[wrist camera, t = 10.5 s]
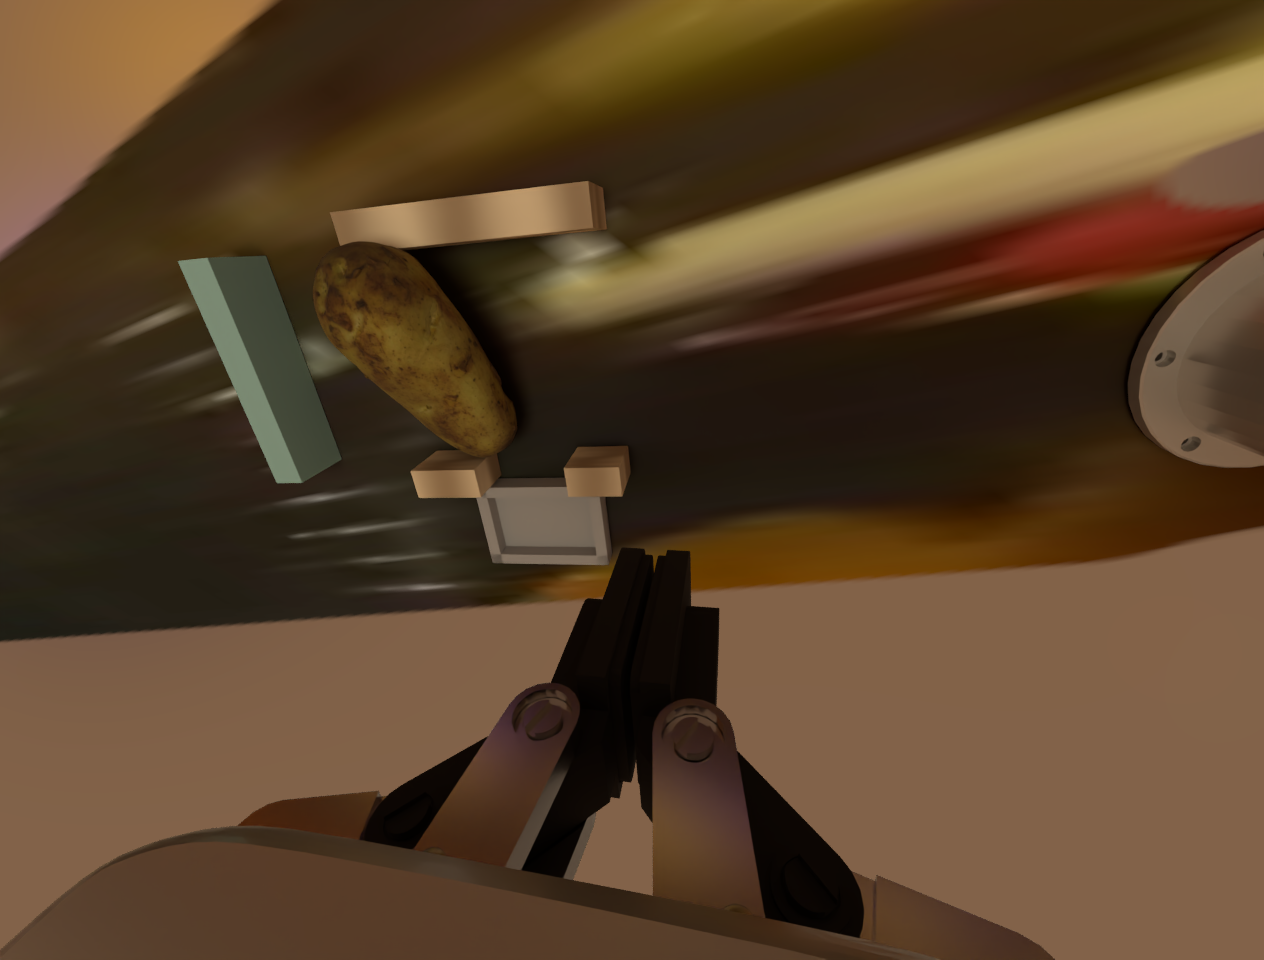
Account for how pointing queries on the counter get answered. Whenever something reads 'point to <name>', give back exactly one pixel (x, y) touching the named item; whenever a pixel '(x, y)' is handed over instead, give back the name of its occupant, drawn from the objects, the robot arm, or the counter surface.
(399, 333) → the potato
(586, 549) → the grey tray
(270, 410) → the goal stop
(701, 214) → the counter surface
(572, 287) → the counter surface
